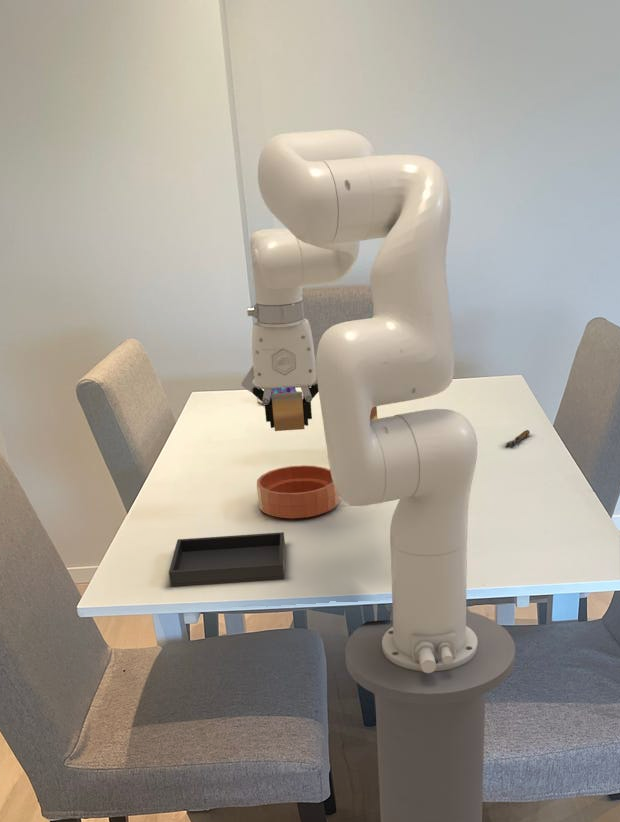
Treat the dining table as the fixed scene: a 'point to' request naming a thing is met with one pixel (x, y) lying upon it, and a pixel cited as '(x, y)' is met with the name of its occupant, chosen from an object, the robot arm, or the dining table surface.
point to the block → (288, 411)
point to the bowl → (297, 492)
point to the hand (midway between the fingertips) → (289, 423)
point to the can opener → (519, 438)
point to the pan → (228, 559)
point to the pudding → (282, 391)
